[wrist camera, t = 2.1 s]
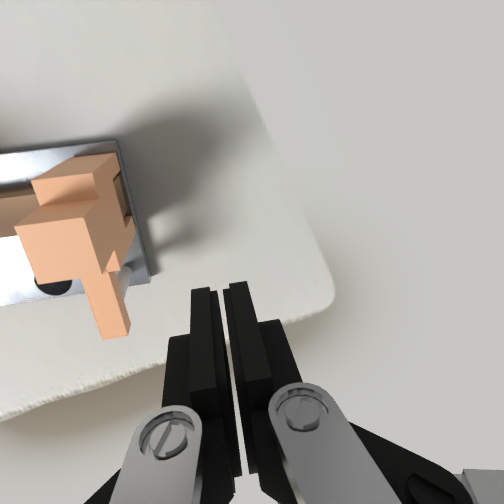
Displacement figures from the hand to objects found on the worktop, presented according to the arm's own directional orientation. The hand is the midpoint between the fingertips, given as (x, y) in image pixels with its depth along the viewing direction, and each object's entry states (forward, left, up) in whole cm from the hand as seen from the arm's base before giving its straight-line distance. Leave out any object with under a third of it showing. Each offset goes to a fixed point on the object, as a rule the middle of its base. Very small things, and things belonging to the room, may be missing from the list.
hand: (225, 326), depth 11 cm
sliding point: (+2, -7, -16) cm, 18 cm away
